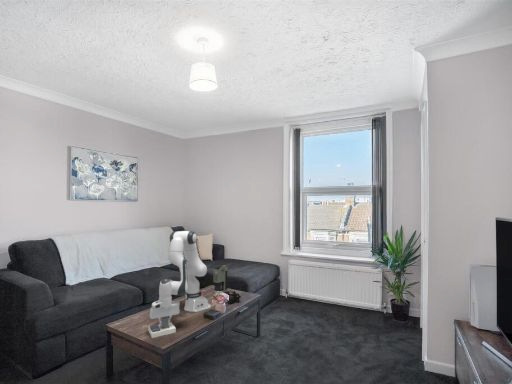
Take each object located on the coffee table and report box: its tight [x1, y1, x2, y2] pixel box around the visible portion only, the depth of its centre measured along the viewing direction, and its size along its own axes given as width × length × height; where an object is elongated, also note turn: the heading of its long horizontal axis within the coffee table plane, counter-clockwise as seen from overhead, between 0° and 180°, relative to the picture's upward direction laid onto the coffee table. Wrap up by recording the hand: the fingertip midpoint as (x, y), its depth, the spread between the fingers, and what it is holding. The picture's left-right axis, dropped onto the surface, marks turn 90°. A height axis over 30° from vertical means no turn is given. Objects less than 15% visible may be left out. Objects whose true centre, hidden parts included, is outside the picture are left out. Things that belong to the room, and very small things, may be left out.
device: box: [213, 263, 229, 295], centre depth 283 cm, size 14×8×30 cm, turn 144°
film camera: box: [224, 290, 241, 305], centre depth 264 cm, size 18×12×10 cm
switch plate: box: [147, 321, 177, 339], centre depth 204 cm, size 16×12×4 cm
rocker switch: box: [160, 316, 169, 328], centre depth 205 cm, size 4×4×6 cm
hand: (164, 322), depth 205 cm, fingers closed on rocker switch, 4 cm apart
